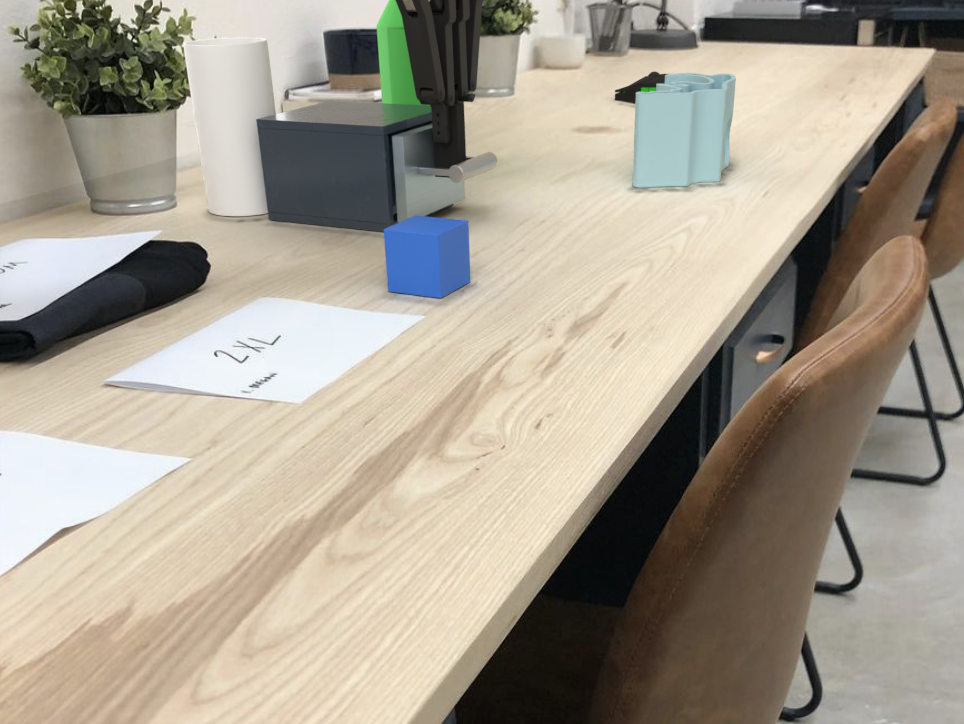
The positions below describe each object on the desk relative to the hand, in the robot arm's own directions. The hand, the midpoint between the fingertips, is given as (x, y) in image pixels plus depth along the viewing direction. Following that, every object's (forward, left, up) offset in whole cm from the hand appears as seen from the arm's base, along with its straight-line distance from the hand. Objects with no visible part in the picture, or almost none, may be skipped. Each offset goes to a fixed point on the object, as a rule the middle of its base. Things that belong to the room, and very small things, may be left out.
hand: (450, 175), depth 108 cm
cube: (+9, -21, -4) cm, 23 cm away
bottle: (-17, +22, -5) cm, 28 cm away
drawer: (-6, 0, -3) cm, 7 cm away
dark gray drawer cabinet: (-11, 0, -4) cm, 11 cm away
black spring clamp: (-8, +81, -5) cm, 82 cm away
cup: (-24, -3, -5) cm, 24 cm away
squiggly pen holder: (+13, +30, -5) cm, 34 cm away
